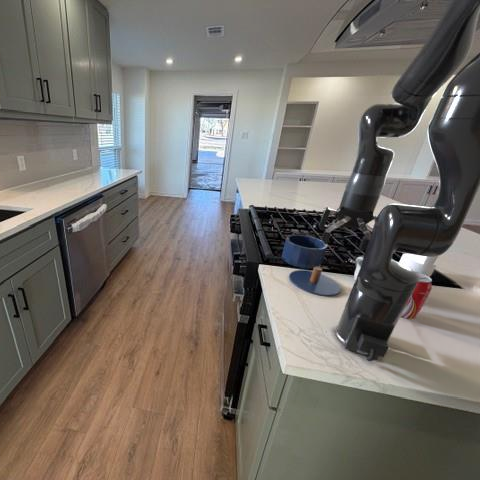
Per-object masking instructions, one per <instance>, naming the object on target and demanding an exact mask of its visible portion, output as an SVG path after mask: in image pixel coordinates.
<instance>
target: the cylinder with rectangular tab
mask: <svg viewBox="0 0 480 480" xmlns="http://www.w3.org/2000/svg"><path fill="white" fill-rule="evenodd" d="M438 257H439V256H436V257H427V256H419V255H413V254H407V253H402V255H401V257H400V260H399V261H398V263H401V264H403V265H405V266H407V267H408V268H410V269H412V270H413V271H415V272H418V273H421V274H424V275H426V276H428V277H430V276H431V277H432V275H433V273H434V272H435V269H436V268H437V265H438V262H437V260H438ZM431 277H430V278H431Z"/></svg>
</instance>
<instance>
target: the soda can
mask: <svg viewBox="0 0 480 480" xmlns="http://www.w3.org/2000/svg"><path fill="white" fill-rule="evenodd" d="M414 272H415V271H414ZM415 273H416V274H417V275H418V277H419V281H418V284H417V286H416V288H415V289H414V291H413V293H412V295H411V297H410V299H409V301H408V303H407V305H406V307H405V309H404V311H403V313H402V315H401V316H400V318H403V319H410V320H411V319H415V318H416V317H417V316H418V315H419V313H420V311H421V310H422V309H423V306H424V305H425V303H426V301H427V299H428V297H429V295H430V293H431V291H432V289H433V285H432V282H433V279H432V278H431V277H428V276H426V275H424V274H421V273H418V272H415Z"/></svg>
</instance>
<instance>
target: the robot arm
mask: <svg viewBox="0 0 480 480" xmlns="http://www.w3.org/2000/svg"><path fill="white" fill-rule="evenodd" d="M479 16H480V0H449V1H448V4H447V6H446V7H445V9H444V11H443V12H442V14H441V16H440V18H439V20H438V21H437V23H436V25H435V27H434V28H433V30H432V32H431V33H430V35H429V37H428V38H427V40H426V41H425V43H424V44H423V46H422V47H421V49H420V50H419V52H418V53H417V55H416V56H415V57H414V58H413V60H411V62H410V64H409V65H408V66H407V68H406V69H405V71H404V72H403V73H402V75H401V76H400V77H399V79H398V80H397V81H396V83H395V84H394V86H393V87H392V89H391V98H392V100H393V101H394V102H395V103H376V104H372V105H371V106H369V107H368V108H367V109H365V111H364V112H363V113H362V115H361V117H360V119H359V122H358V147H357V156H356V159H355V162H354V165H353V168H352V171H351V174H350V175H349V177H348V179H347V183H346V184H345V189H344V191H343V194H342V197H341V200H340V203H339V206H338V208H337V209H333V208H330V207H329V206H326V207H325V208H324V209H323V212H322V215H321V218H320V220H319V223H318V228H319V230H323V234H322V237H321V238H322V239H321V240H322V241H323V242H324V244H327V245H328V243H329V240H330V236H331V232H333V231H334V230H335V229H338V228H339V227H343V228H347V229H348V228H350V229H353V230H358V229H361V231H362V233H363V235H364V236H362V238H361V241H360V242H359V246H358V252H364V253H363V254H364V255H363V256H362V257H363V261H362V265H361V268H360V270H359V273H358V275H357V278H356V281H355V280H354V283H353V285H352V287H351V291H350V293H349V296H348V298H347V300H346V303H345V305H344V308H343V311H342V313H341V316H340V319H339V321H338V323H337V326H336V327H335V330H334V336H335V337H336V339H337V340H338V341H339V342H340V343H341V344H342V345H343V347H344V350H348V351H349V352H350V351H351V352H354V353H357V354H359V355H363V356H365V360H366V361H367V362H373V361H374V360H379V359H380V358H384V357H385V355H386V353H387V352H388V349H389V345H388V342H389V340H390V338H391V336H392V334H393V332H394V329H395V328H396V326H397V324H398V322H399V320H400V318H401V317H400V316H401V315H402V313H403V311H404V309H405V307H406V305H407V303H408V301H409V299H410V297H411V295H412V293H413V291H414V289H415V288H416V286H417V284H418V281H419V277H418V275H417V274H416V273H415V272H414V271H413V270H412V269H410V268H408V267H407V266H405V265H403V264H401V263H399V261H396V260H395V259H393V254H394V253H402V254H406V253H407V254H413V255H419V256H427V257H436V256H438V257H440V256H442V255H443V254H445V253H446V252H447V251H448V250H449V249H450V248H451V247H452V246H453V244H454V242H455V241H456V240H457V237H458V236H459V234H460V232H461V230H462V228H463V225H464V223H465V221H466V218H467V217H468V215H469V213H470V210H471V208H472V206H473V203H474V201H475V199H476V197H477V194H478V192H479V189H480V52H478V53H477V54H476V55H475V56H474V57H473V58H472V59H471V60H469V62H468V63H467V64H466V65H464V62H465V61H466V59H467V57H468V56H469V54H470V52H471V49H472V47H473V43H474V38H475V34H476V29H477V24H478V20H479ZM463 65H464V66H463ZM462 66H463V67H462ZM461 67H462V68H461ZM460 68H461V69H460ZM459 69H460V70H459ZM458 70H459V71H458ZM450 79H451V80H450ZM449 80H450V81H449ZM448 81H449V82H448ZM447 82H448V84H447V85H446V87H445V89H444V91H443V92H442V95H441V97H440V99H439V102H438V104H437V106H436V108H435V111H434V112H433V115H432V118H431V120H430V121H429V123H428V128H427V138H428V143H429V147H430V151H431V153H432V156H433V160H434V161H435V163H436V164H435V165H436V167H437V171H438V177H439V186H438V191H437V194H436V197H435V200H434V201H433V204H432V206H431V207H430V206H420V205H410V204H400V203H390V204H387V205H386V206H384V207H382V209H381V210H380V211H379V213H378V214H377V215H374V212H375V210H376V207H377V204H378V202H379V199H380V197H381V194H382V192H383V189H384V187H385V184H386V179H387V175H388V173H389V171H390V168H391V166H392V163H393V160H394V158H395V152H394V151H393V149H390V148H387V147H386V148H385V147H382V146H379V144H378V138H391V139H394V138H395V139H397V138H403V137H405V136H407V135H409V134H410V133H412V132H413V131H414V130H415V129H416V127H418V125H419V123H420V122H421V119H422V118H423V115H424V113H425V111H426V110H427V108H428V106H429V105H430V103H431V101H432V99H433V98H434V97H435V95H436V94H437V93H438V92H439V91H440V90H441V88H443V87H444V85H445V84H446V83H447ZM333 215H335V217H336V219H334V220H332V222H331V223H329V224H328V225H327V224H326V223H327V221H328V219H329V218H331V217H332V216H333ZM372 221H374V225H373V227H372V230H371V232H370V231H369V229H368V227H367V225H368V224H369V223H371V222H372Z"/></svg>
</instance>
